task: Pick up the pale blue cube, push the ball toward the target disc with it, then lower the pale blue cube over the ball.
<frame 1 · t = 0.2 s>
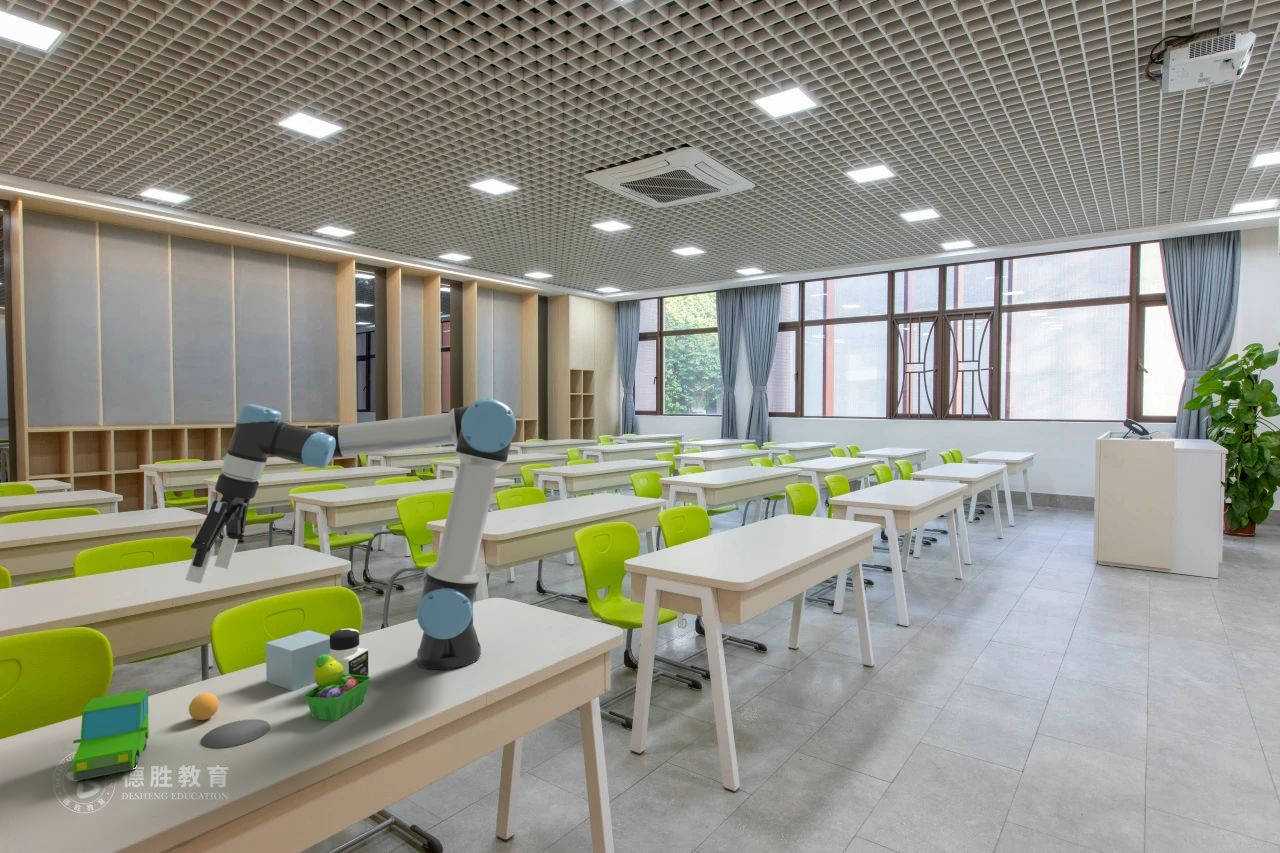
hand: (208, 574, 140), 27 cm above the table, tool tilted 20°, fingers open, 13 cm apart
target disc: (236, 733, 126), on the table
medicine bottle: (345, 685, 149), on the table
toy car: (112, 766, 115), on the table
ball: (203, 706, 132), on the table
fruit basket: (336, 711, 136), on the table
pale blue cube: (301, 678, 153), on the table
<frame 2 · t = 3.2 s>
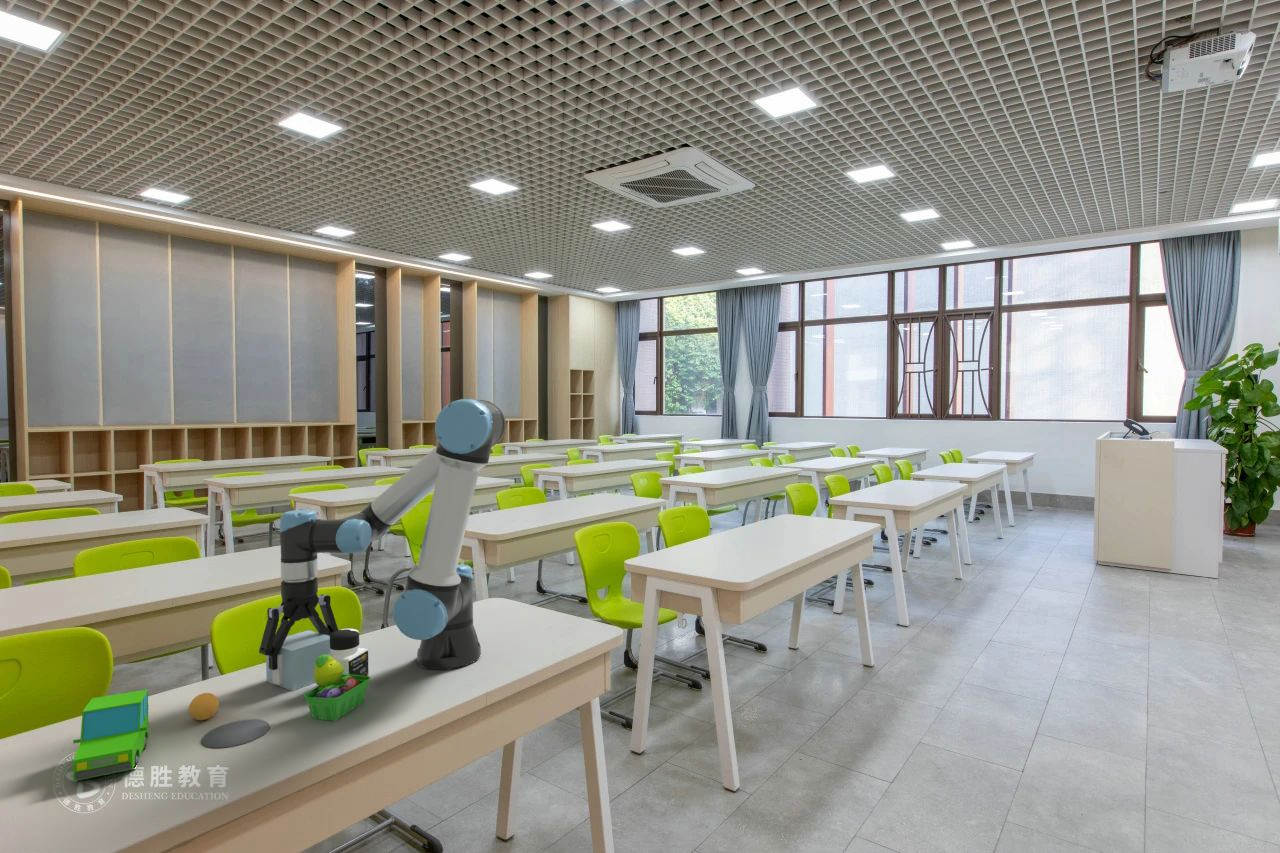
hand: (301, 674, 153), 1 cm above the table, tool pointing down, fingers closed on pale blue cube, 10 cm apart
pale blue cube: (301, 678, 153), on the table, touching gripper
everything else where it was.
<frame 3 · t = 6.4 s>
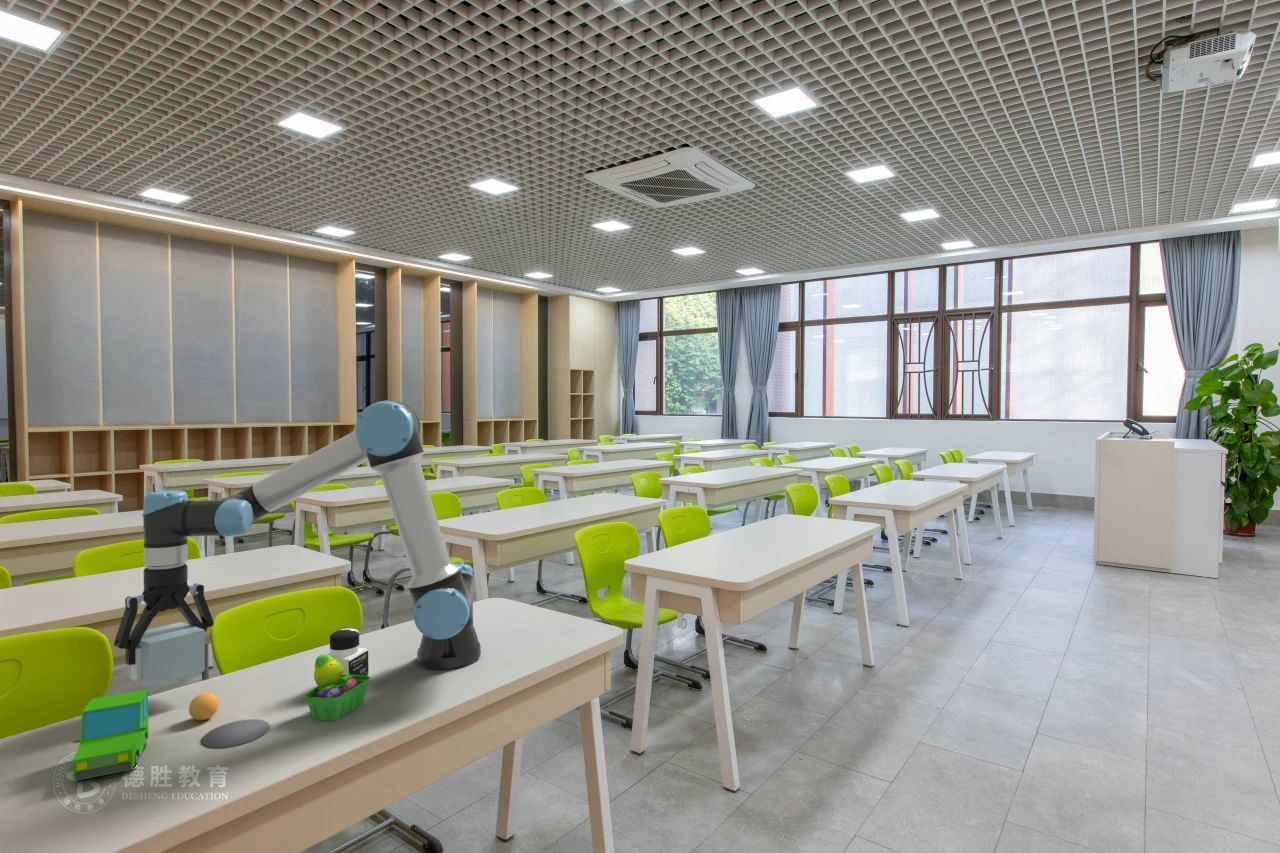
hand: (166, 670, 140), 7 cm above the table, tool pointing down, fingers closed on pale blue cube, 10 cm apart
pale blue cube: (166, 673, 140), point 6 cm above the table, touching gripper
everything else where it was.
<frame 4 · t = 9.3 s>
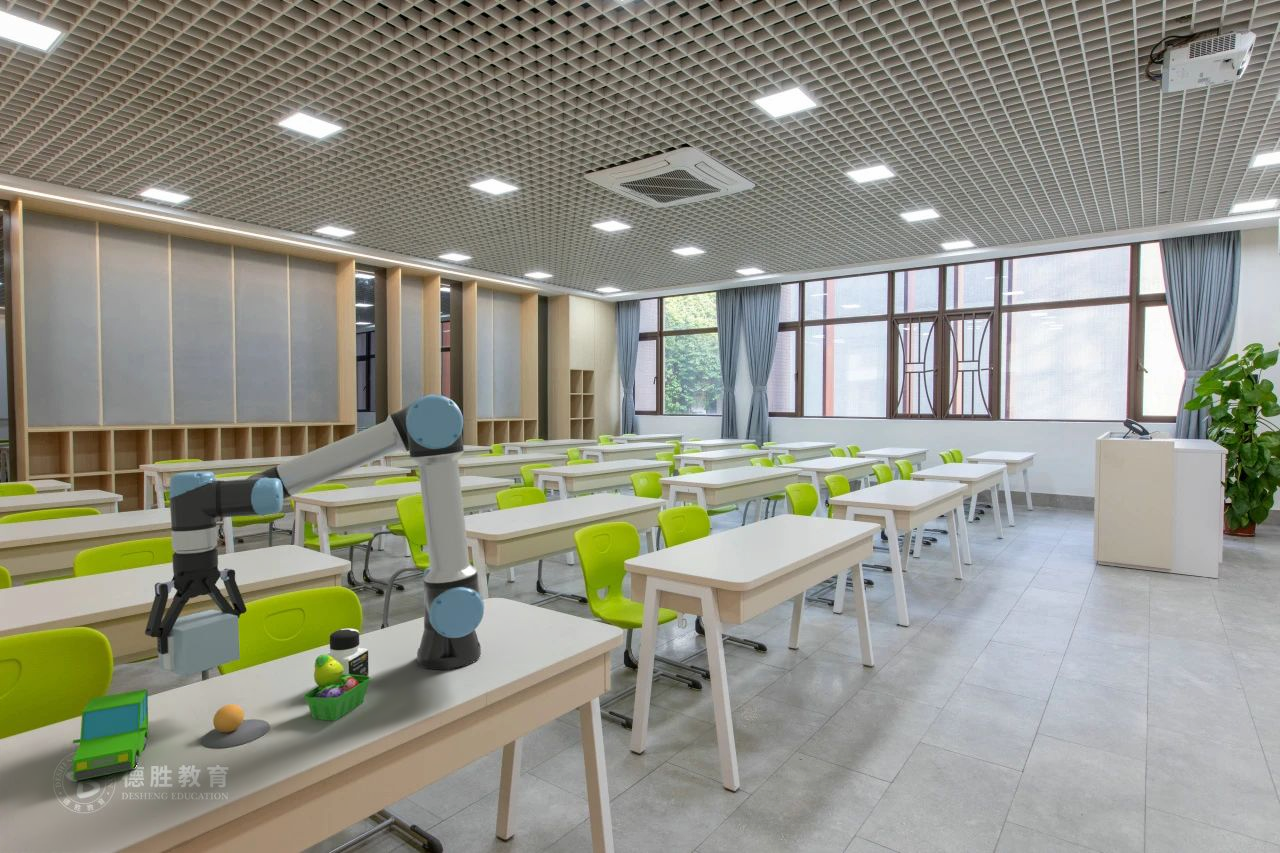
hand: (200, 659, 134), 11 cm above the table, tool pointing down, fingers closed on pale blue cube, 10 cm apart
ball: (228, 718, 127), on the table
pale blue cube: (199, 663, 134), point 11 cm above the table, touching gripper
everything else where it was.
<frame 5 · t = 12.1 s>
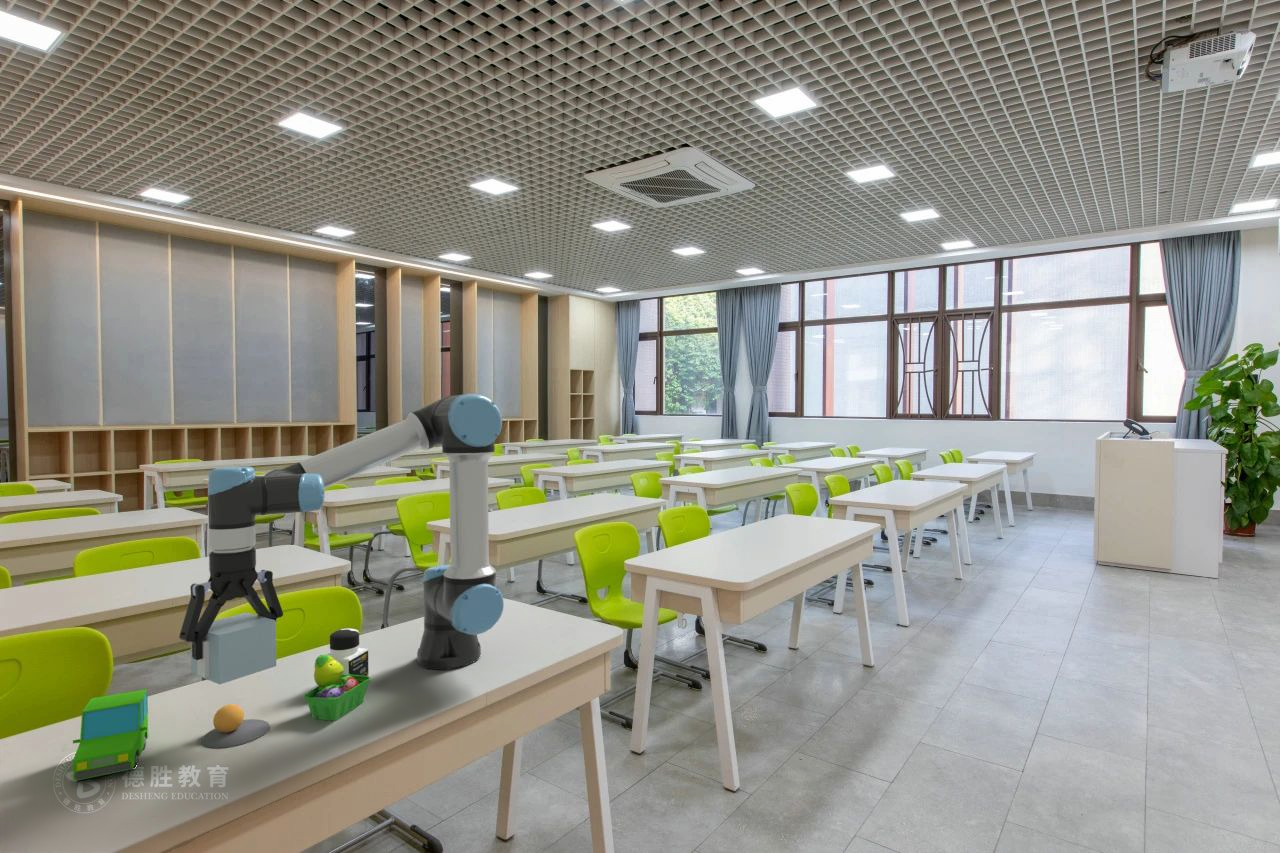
hand: (234, 665, 126), 13 cm above the table, tool pointing down, fingers closed on pale blue cube, 10 cm apart
pale blue cube: (234, 669, 126), point 12 cm above the table, touching gripper
everything else where it was.
when the fingers open (1 cm above the table, at t = 14.6 s): pale blue cube stays where it is, on the table.
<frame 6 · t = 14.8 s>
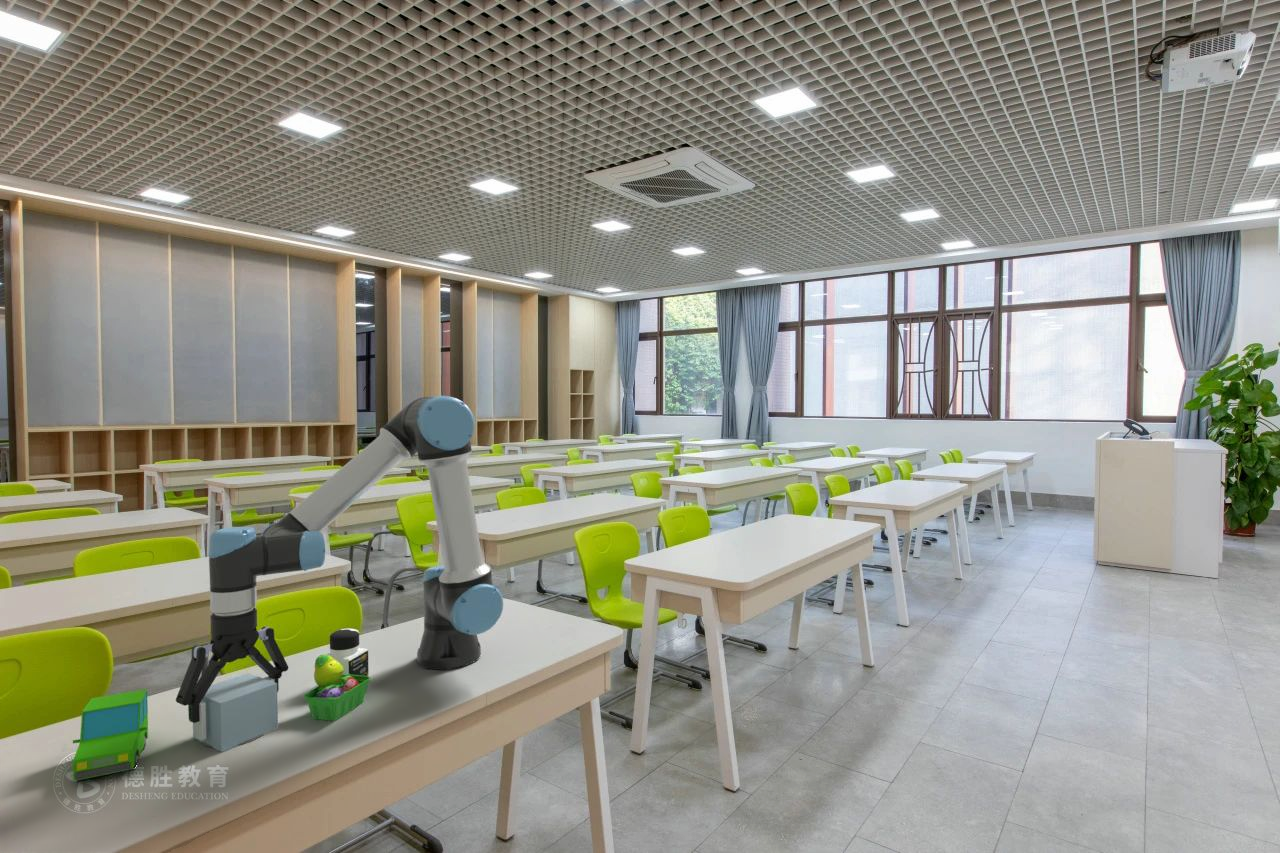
hand: (236, 724, 126), 2 cm above the table, tool pointing down, fingers open, 12 cm apart
pale blue cube: (236, 733, 126), on the table
everything else where it was.
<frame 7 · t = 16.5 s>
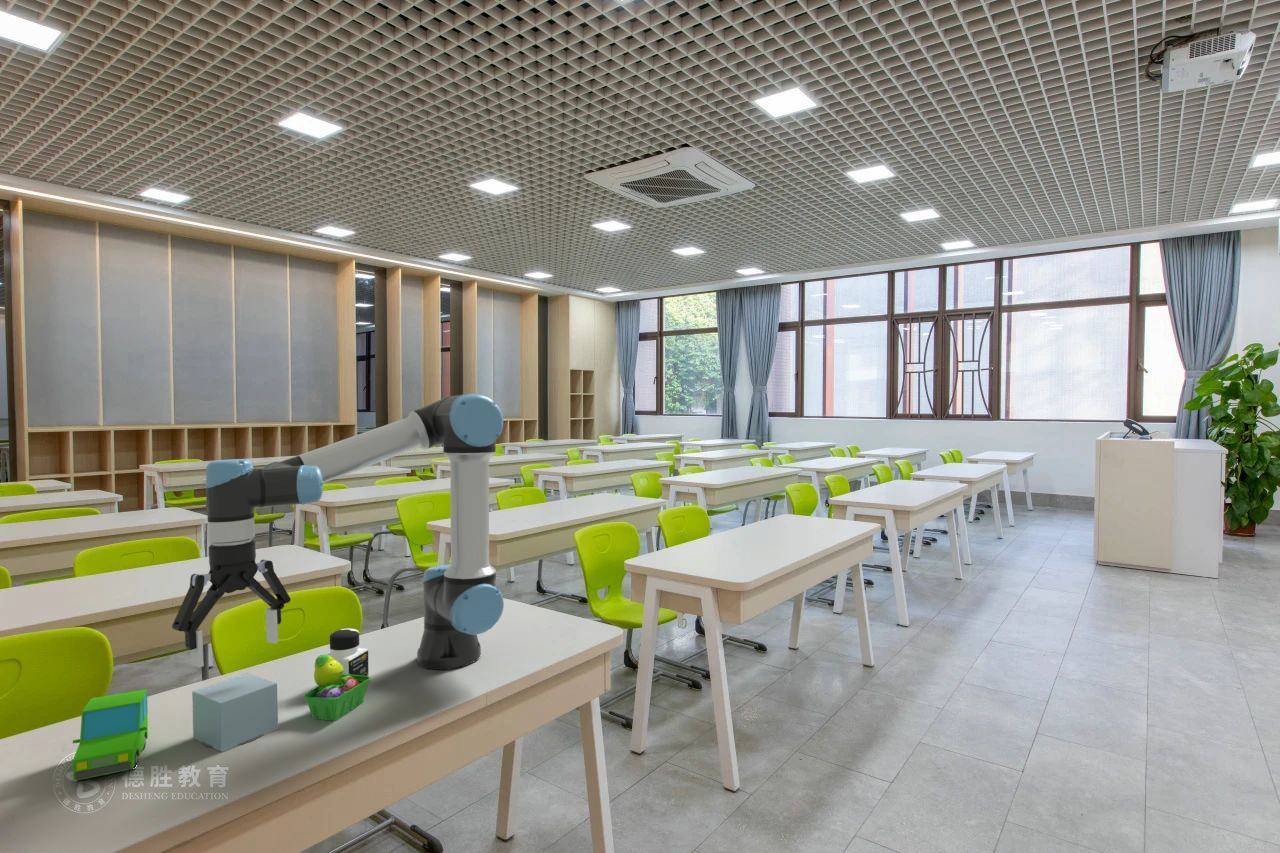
hand: (236, 653, 126), 15 cm above the table, tool pointing down, fingers open, 13 cm apart
nothing on the table moved.
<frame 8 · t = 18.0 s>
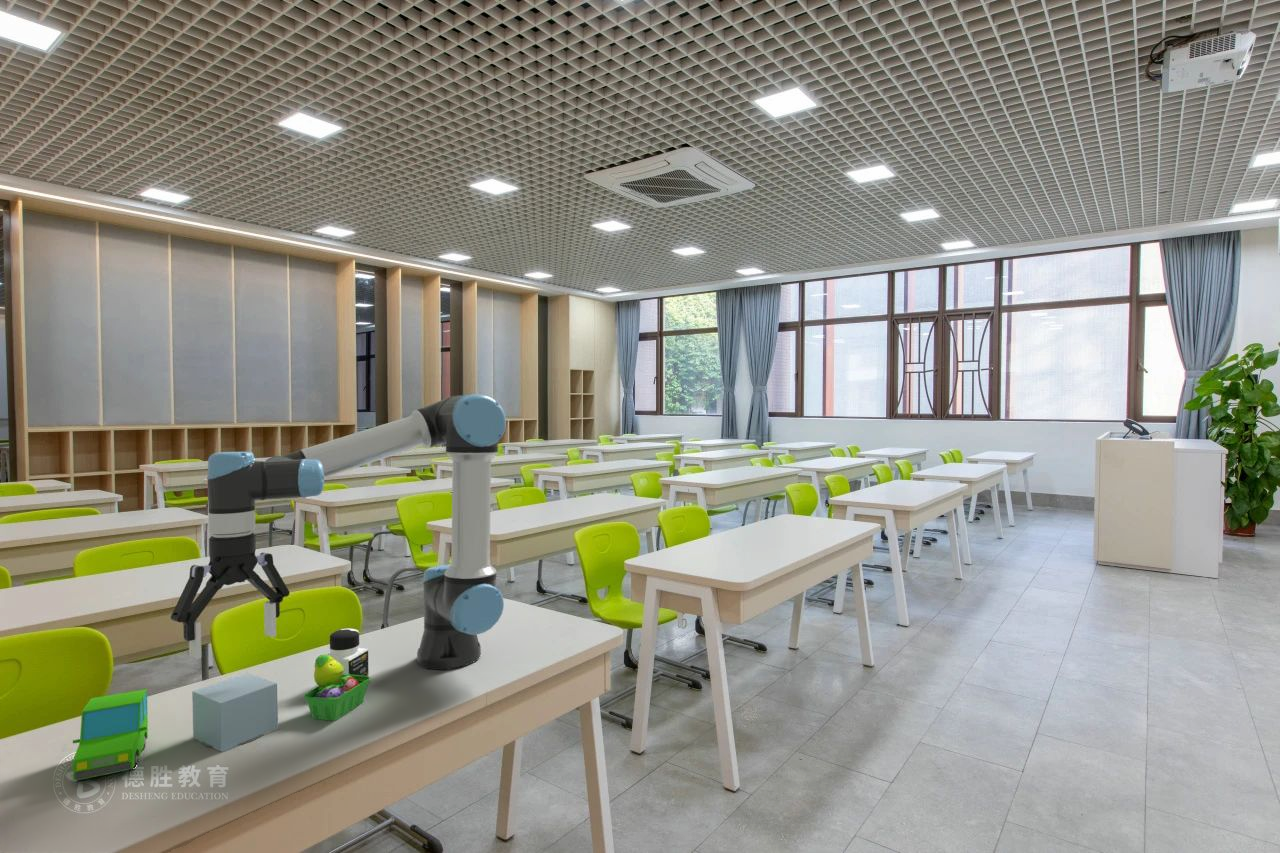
hand: (234, 645, 126), 17 cm above the table, tool pointing down, fingers open, 13 cm apart
nothing on the table moved.
at the end: ball 2.0 cm from the pale blue cube (horizontally); pale blue cube on the table; ball moved 9.9 cm from its start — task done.
